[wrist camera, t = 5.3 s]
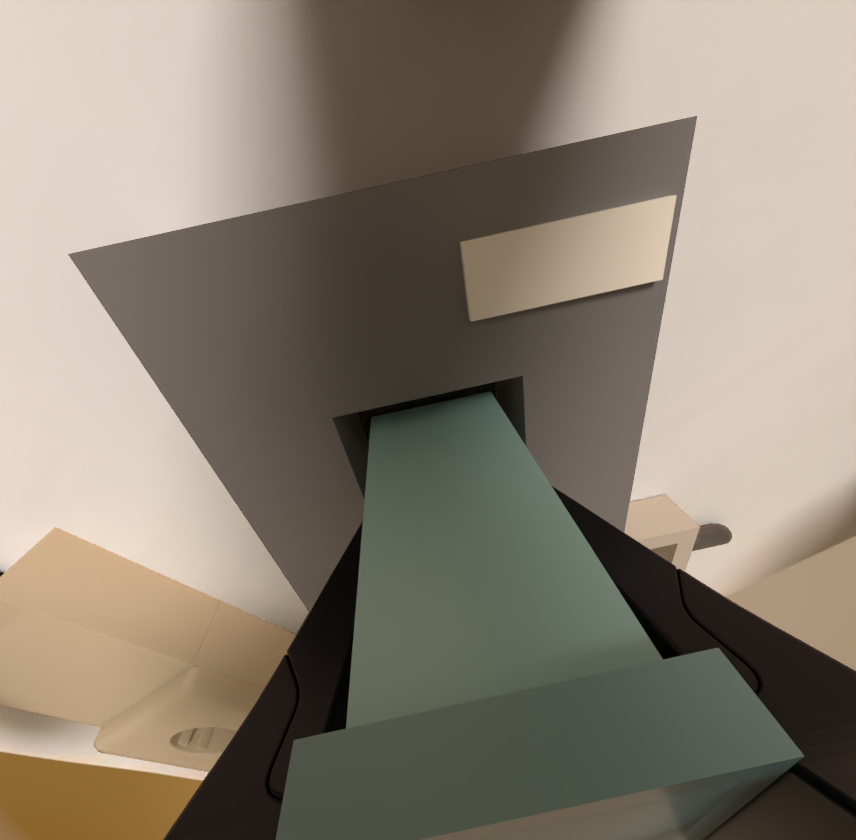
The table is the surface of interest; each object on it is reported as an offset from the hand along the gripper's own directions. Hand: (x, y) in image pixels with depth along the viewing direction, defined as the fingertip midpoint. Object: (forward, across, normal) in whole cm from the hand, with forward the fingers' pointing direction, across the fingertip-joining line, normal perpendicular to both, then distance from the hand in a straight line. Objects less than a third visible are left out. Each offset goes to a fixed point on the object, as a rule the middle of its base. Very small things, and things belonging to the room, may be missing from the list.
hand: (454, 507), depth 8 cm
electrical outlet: (+5, +14, +11) cm, 19 cm away
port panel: (+4, 0, 0) cm, 5 cm away
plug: (+2, 0, 0) cm, 3 cm away
